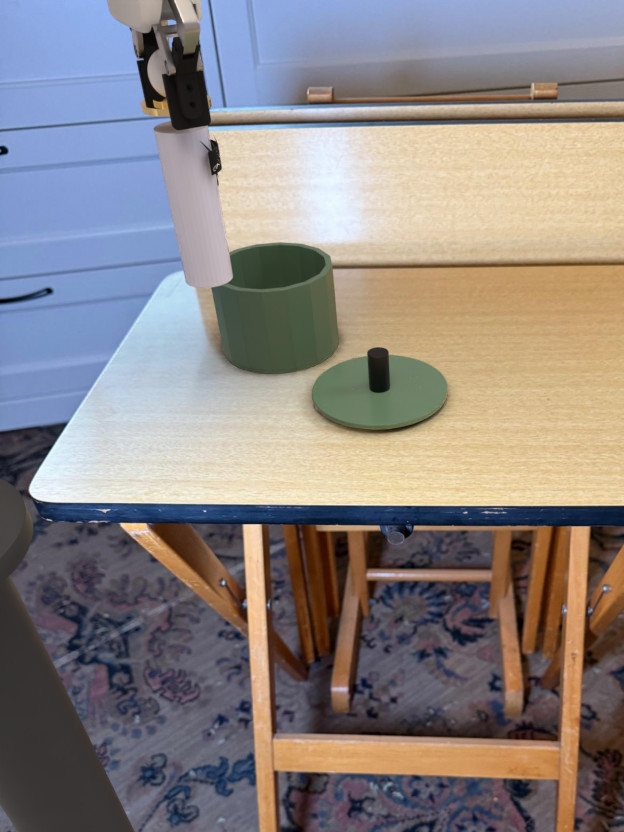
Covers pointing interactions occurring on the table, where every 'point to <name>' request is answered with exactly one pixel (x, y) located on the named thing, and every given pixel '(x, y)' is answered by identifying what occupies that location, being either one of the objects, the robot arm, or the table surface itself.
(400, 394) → the tin lid
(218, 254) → the perfume bottle
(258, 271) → the tin
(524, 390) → the table surface
